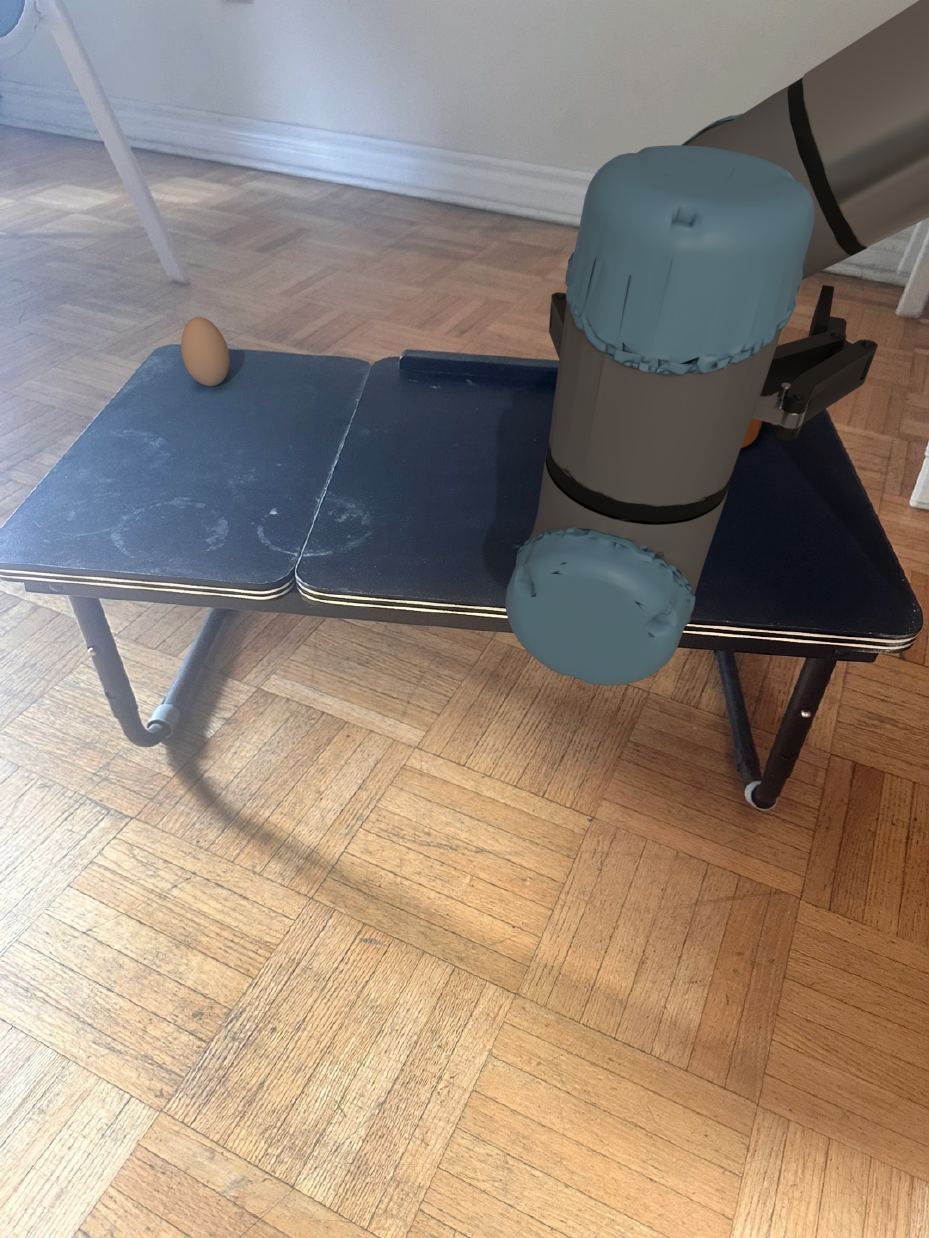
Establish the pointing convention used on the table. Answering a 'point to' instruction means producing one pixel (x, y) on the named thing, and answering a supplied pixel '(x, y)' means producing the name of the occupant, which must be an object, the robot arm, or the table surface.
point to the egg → (205, 352)
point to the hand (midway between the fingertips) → (721, 290)
